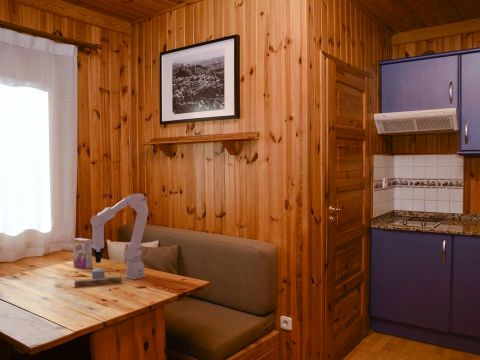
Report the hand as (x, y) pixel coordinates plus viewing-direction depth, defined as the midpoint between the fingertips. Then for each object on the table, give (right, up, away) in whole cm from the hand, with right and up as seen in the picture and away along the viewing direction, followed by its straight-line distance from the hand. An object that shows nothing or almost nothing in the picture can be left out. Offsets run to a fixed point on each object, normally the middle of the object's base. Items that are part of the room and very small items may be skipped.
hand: (98, 262), depth 229 cm
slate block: (+3, -7, -9) cm, 12 cm away
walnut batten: (+6, -7, -18) cm, 21 cm away
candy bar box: (-15, -6, +17) cm, 23 cm away
